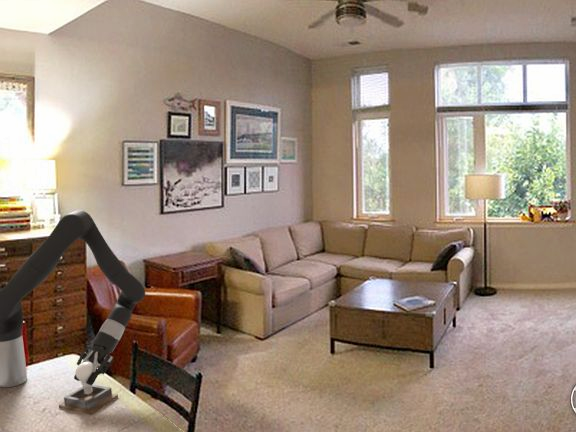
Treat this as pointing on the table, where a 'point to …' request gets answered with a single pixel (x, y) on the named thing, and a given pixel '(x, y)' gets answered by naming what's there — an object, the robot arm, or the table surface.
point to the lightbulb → (85, 375)
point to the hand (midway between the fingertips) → (82, 382)
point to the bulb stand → (88, 400)
